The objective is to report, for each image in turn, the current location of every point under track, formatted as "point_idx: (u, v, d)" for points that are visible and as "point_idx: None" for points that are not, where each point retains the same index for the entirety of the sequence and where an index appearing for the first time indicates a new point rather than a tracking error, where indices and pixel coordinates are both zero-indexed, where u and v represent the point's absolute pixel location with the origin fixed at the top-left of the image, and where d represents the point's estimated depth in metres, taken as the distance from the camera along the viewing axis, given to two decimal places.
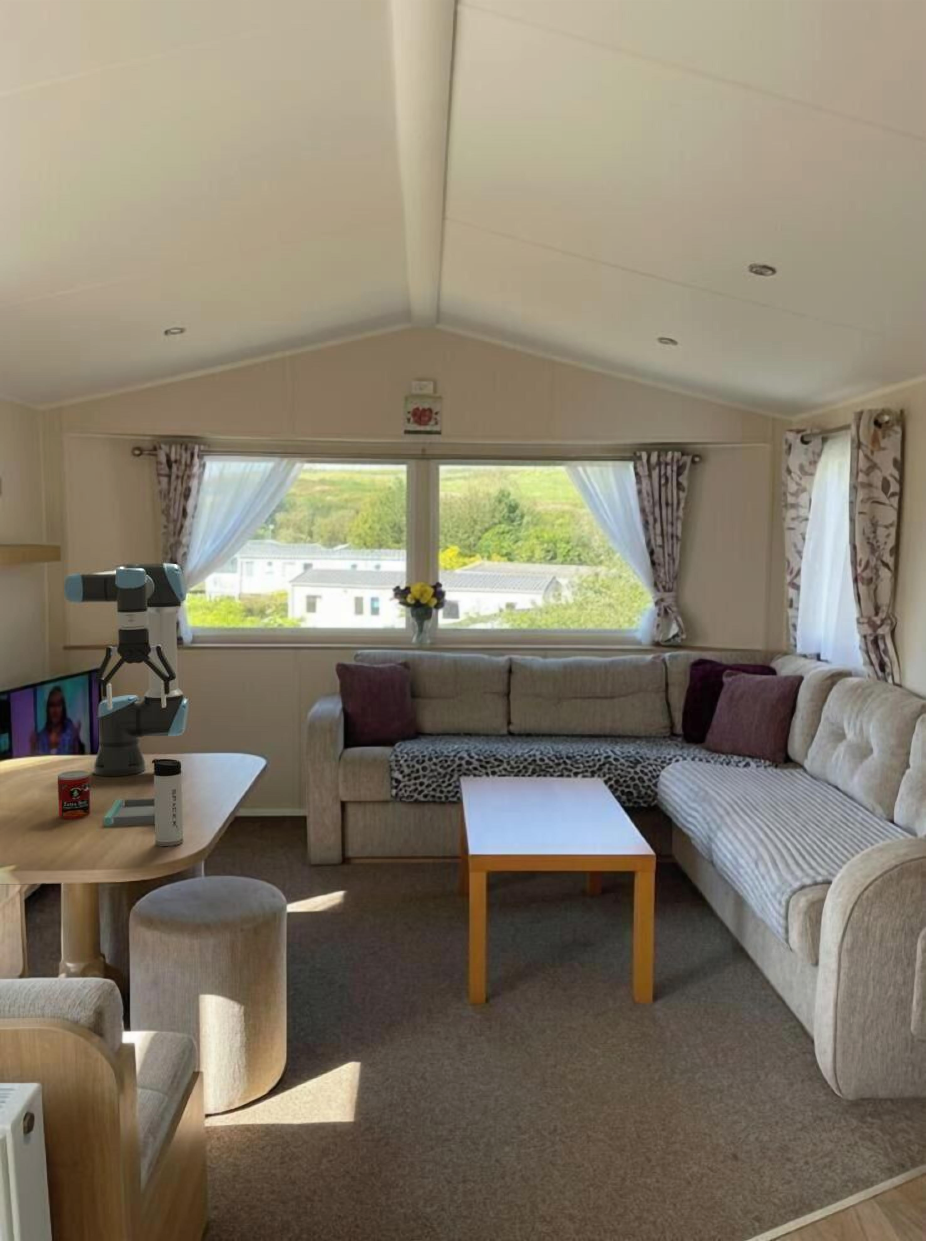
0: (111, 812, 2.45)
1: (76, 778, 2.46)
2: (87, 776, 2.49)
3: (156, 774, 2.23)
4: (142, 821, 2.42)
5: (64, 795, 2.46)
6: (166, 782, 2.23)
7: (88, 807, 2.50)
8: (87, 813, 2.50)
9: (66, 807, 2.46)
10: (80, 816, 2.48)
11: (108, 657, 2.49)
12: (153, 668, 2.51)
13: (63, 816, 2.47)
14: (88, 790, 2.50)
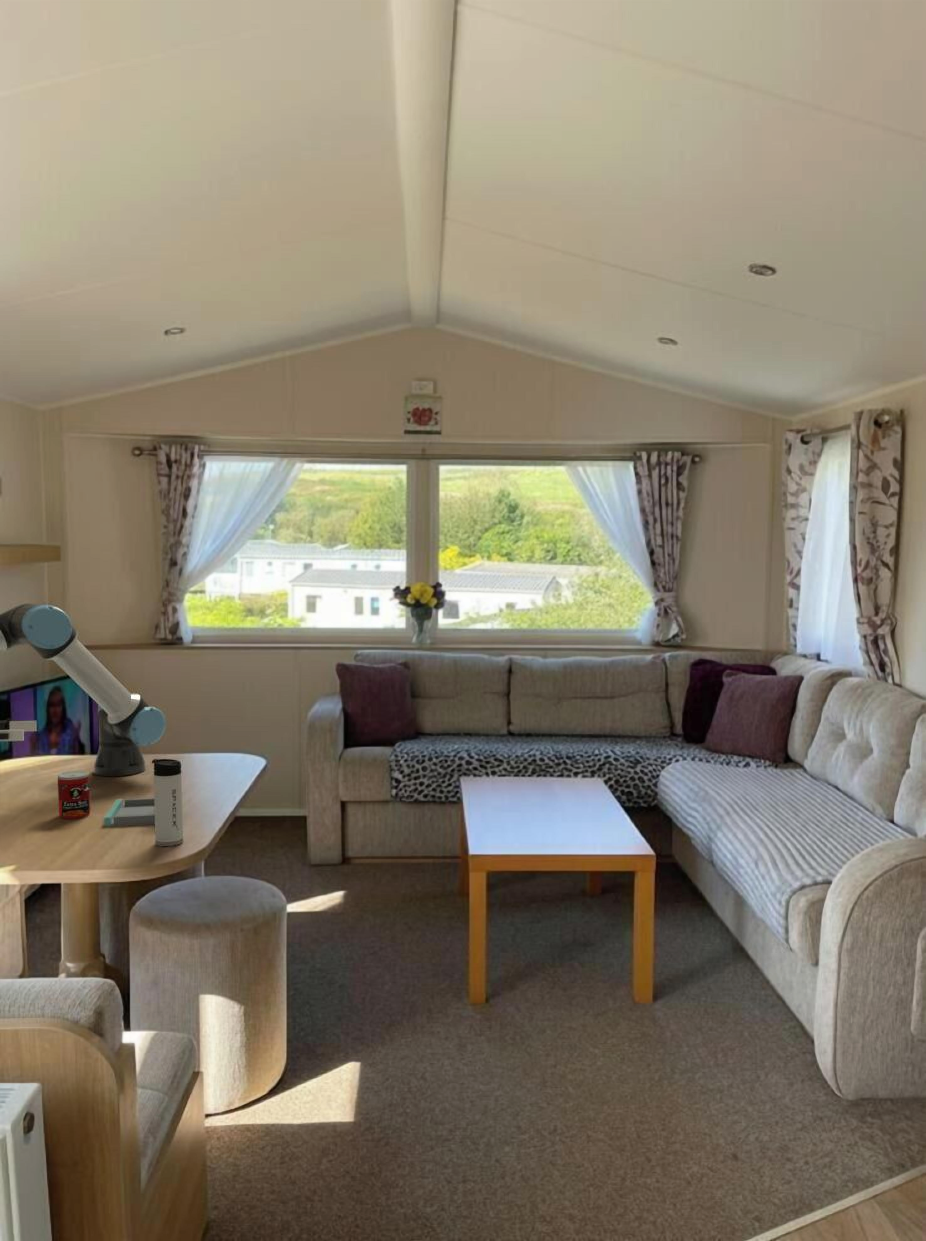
0: (111, 812, 2.45)
1: (76, 778, 2.46)
2: (87, 776, 2.49)
3: (156, 774, 2.23)
4: (142, 821, 2.42)
5: (64, 795, 2.46)
6: (166, 782, 2.23)
7: (88, 807, 2.50)
8: (87, 813, 2.50)
9: (66, 807, 2.46)
10: (80, 816, 2.48)
11: None
12: None
13: (63, 816, 2.47)
14: (88, 790, 2.50)
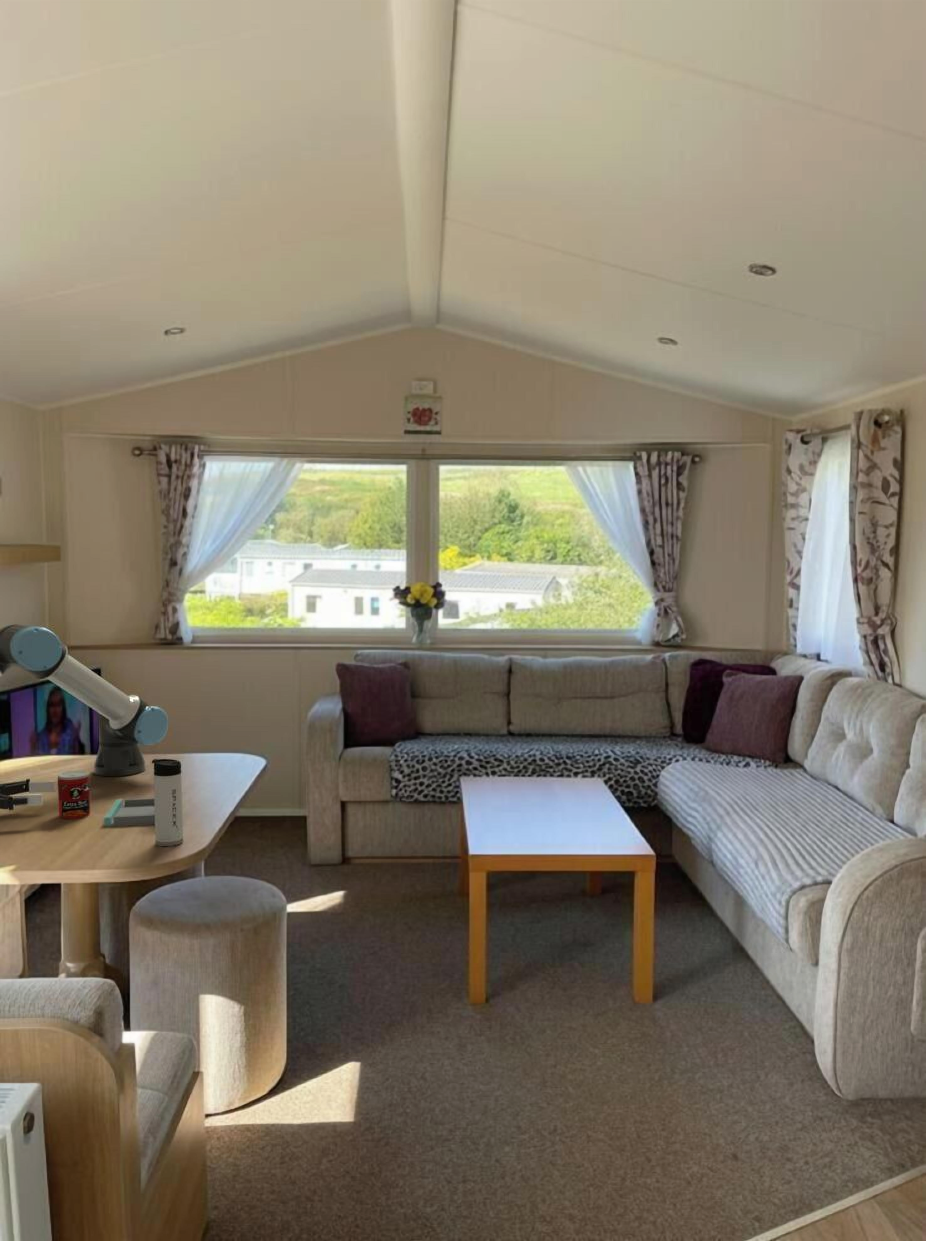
0: (111, 812, 2.45)
1: (76, 778, 2.46)
2: (87, 776, 2.49)
3: (155, 774, 2.23)
4: (142, 821, 2.42)
5: (64, 795, 2.46)
6: (166, 782, 2.23)
7: (88, 807, 2.50)
8: (87, 813, 2.50)
9: (66, 807, 2.46)
10: (80, 816, 2.48)
11: None
12: None
13: (63, 816, 2.47)
14: (88, 790, 2.50)
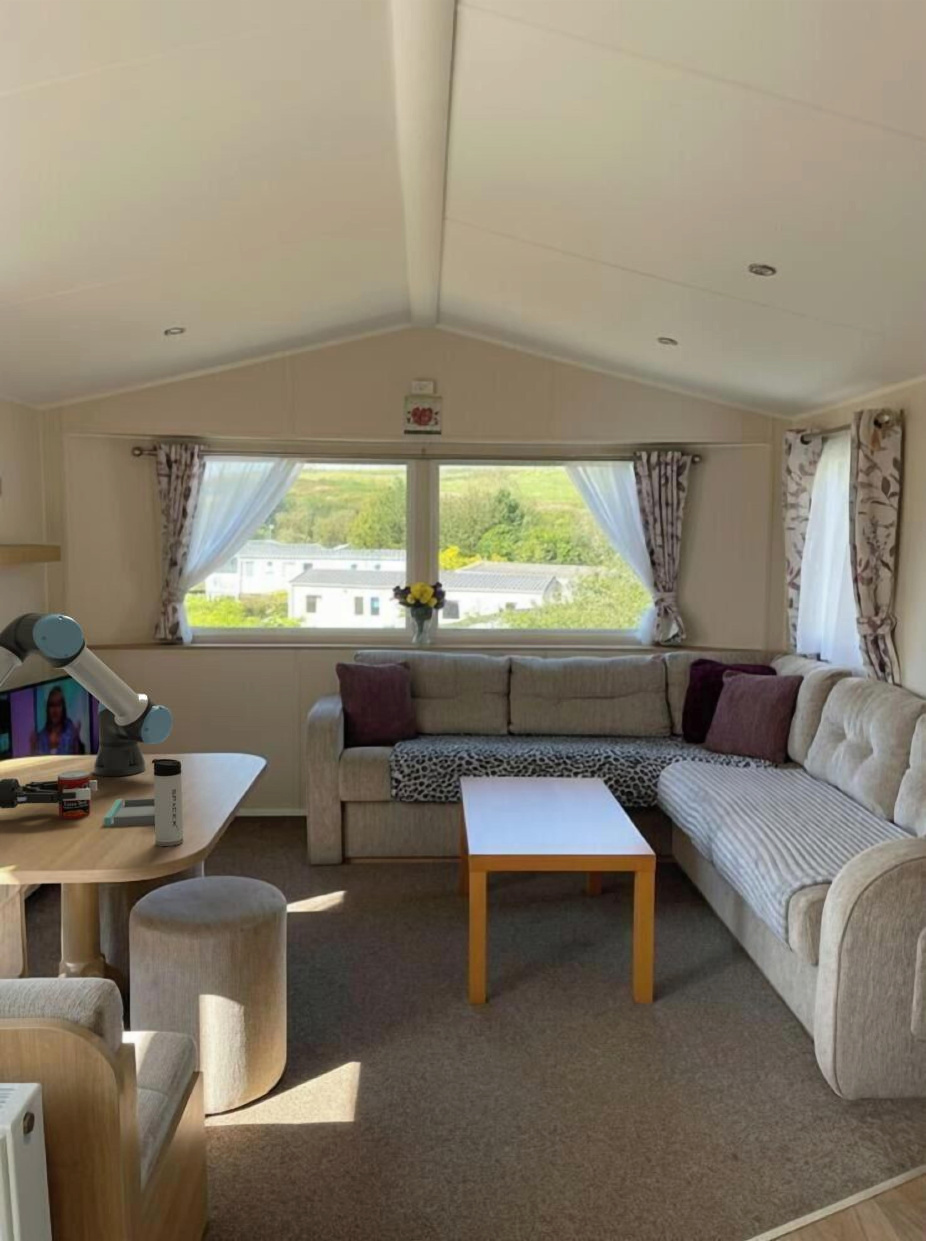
0: (111, 812, 2.45)
1: (76, 778, 2.46)
2: (87, 776, 2.49)
3: (155, 774, 2.23)
4: (142, 821, 2.42)
5: None
6: (166, 782, 2.23)
7: (88, 807, 2.50)
8: (87, 813, 2.50)
9: (66, 807, 2.46)
10: (80, 816, 2.48)
11: None
12: None
13: (63, 816, 2.47)
14: None
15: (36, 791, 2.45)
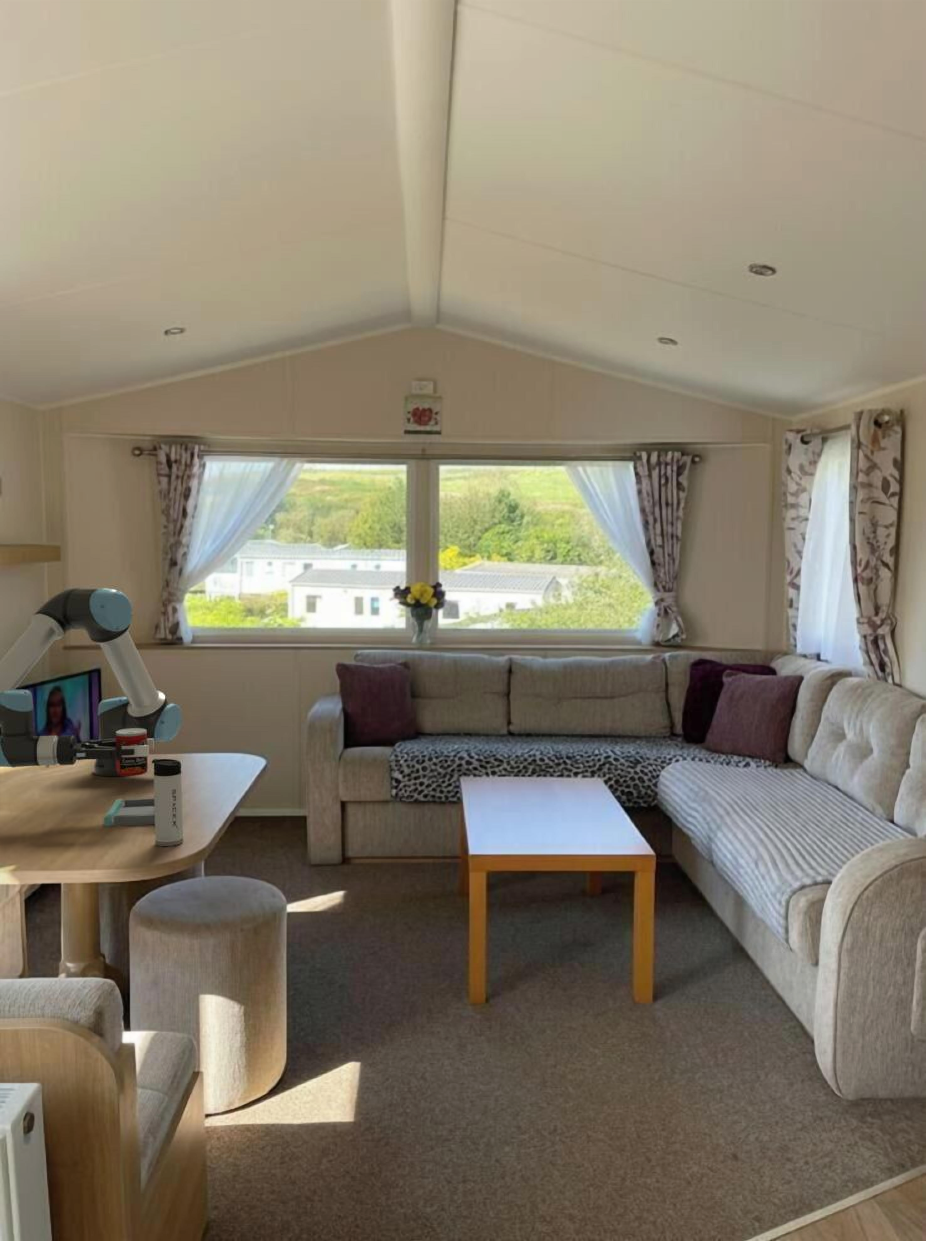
0: (111, 812, 2.45)
1: (134, 735, 2.45)
2: (145, 733, 2.48)
3: (155, 774, 2.23)
4: (142, 821, 2.42)
5: None
6: (166, 782, 2.23)
7: (146, 764, 2.49)
8: (145, 770, 2.48)
9: (125, 764, 2.45)
10: (138, 773, 2.46)
11: None
12: None
13: (121, 773, 2.46)
14: None
15: (95, 747, 2.44)
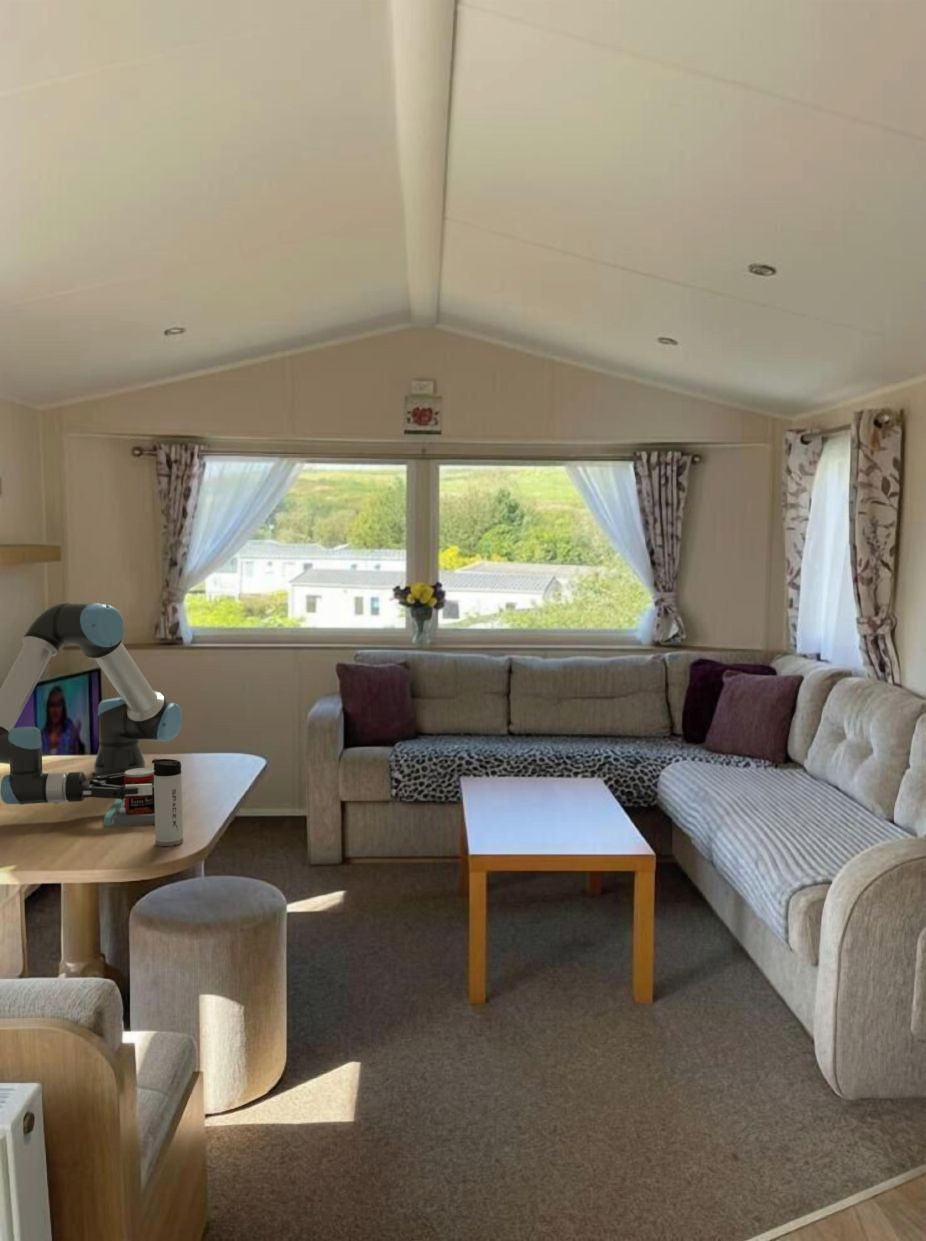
0: (111, 812, 2.45)
1: (143, 775, 2.47)
2: (153, 773, 2.50)
3: (155, 774, 2.23)
4: (142, 821, 2.42)
5: None
6: (166, 782, 2.23)
7: (154, 804, 2.50)
8: (153, 810, 2.50)
9: (133, 805, 2.46)
10: (147, 813, 2.48)
11: None
12: None
13: (130, 813, 2.47)
14: None
15: (101, 785, 2.45)
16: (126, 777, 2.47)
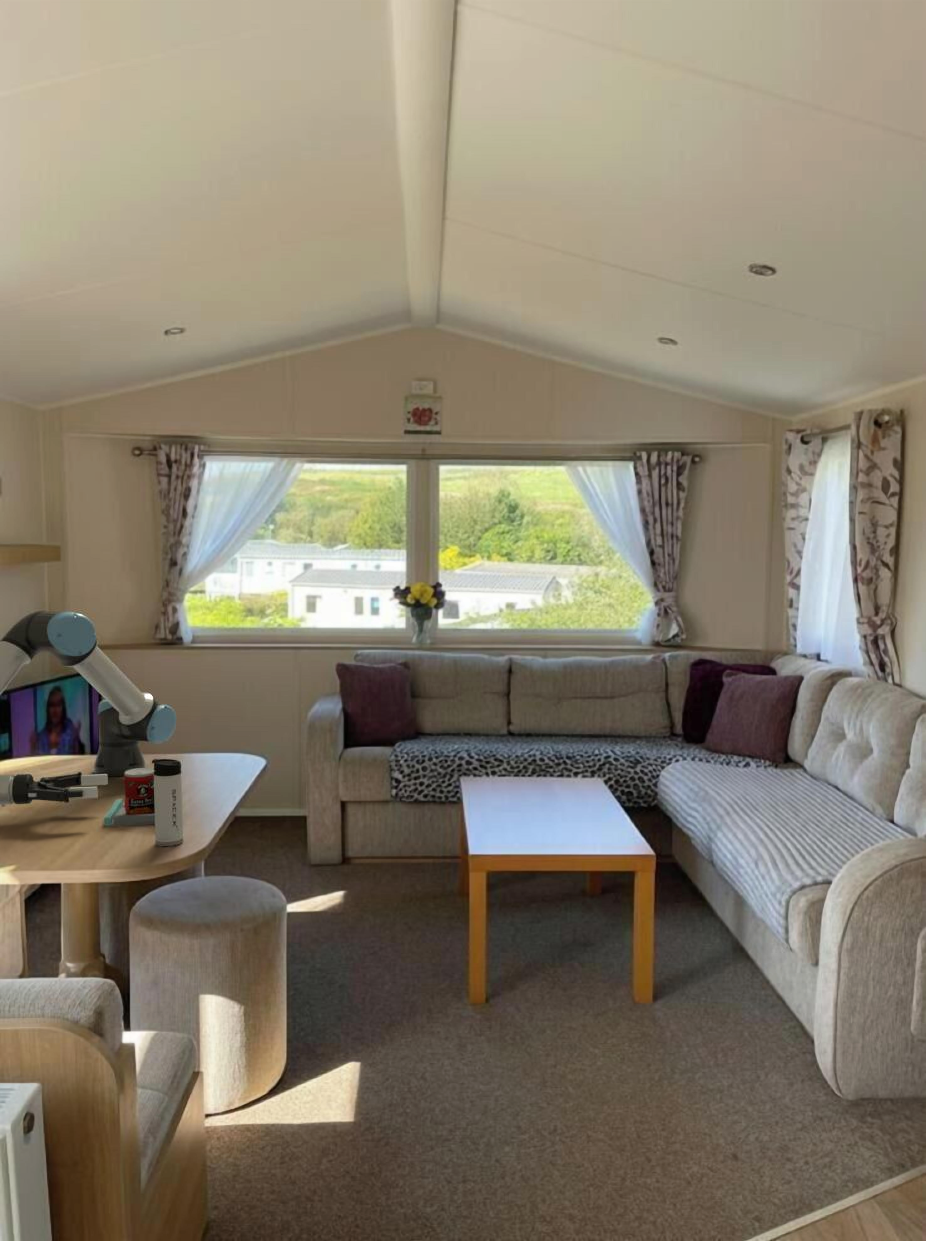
0: (111, 812, 2.45)
1: (143, 775, 2.47)
2: (153, 773, 2.50)
3: (155, 774, 2.23)
4: (142, 821, 2.42)
5: (131, 792, 2.46)
6: (166, 782, 2.23)
7: (154, 804, 2.50)
8: (153, 810, 2.50)
9: (133, 805, 2.46)
10: (147, 813, 2.48)
11: None
12: None
13: (130, 813, 2.47)
14: None
15: (47, 787, 2.42)
16: (126, 777, 2.47)
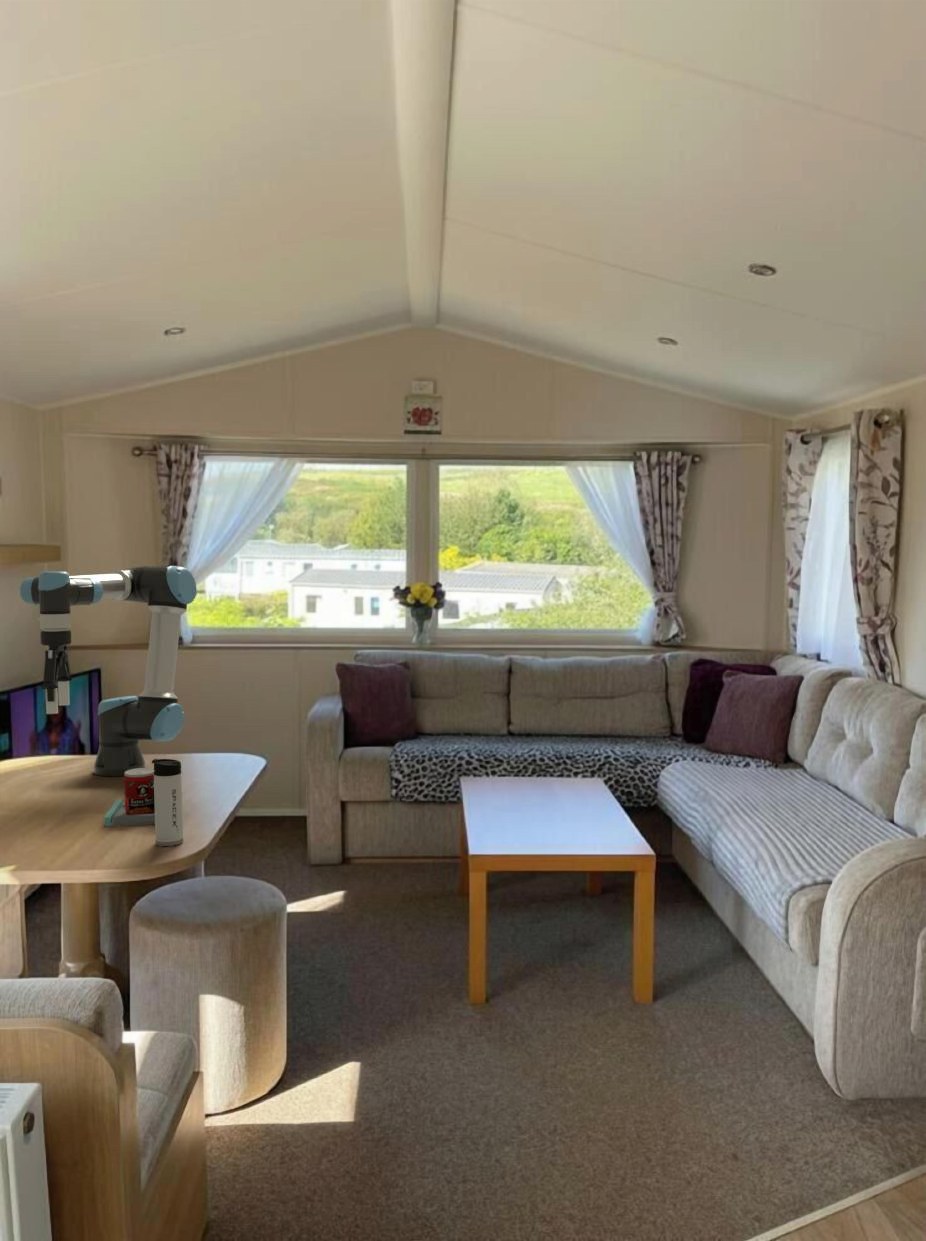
0: (111, 812, 2.45)
1: (143, 775, 2.47)
2: (153, 773, 2.50)
3: (155, 774, 2.23)
4: (142, 821, 2.42)
5: (131, 792, 2.46)
6: (166, 782, 2.23)
7: (154, 804, 2.50)
8: (153, 810, 2.50)
9: (133, 805, 2.46)
10: (147, 813, 2.48)
11: None
12: None
13: (130, 813, 2.47)
14: None
15: (57, 664, 2.51)
16: (126, 777, 2.47)
